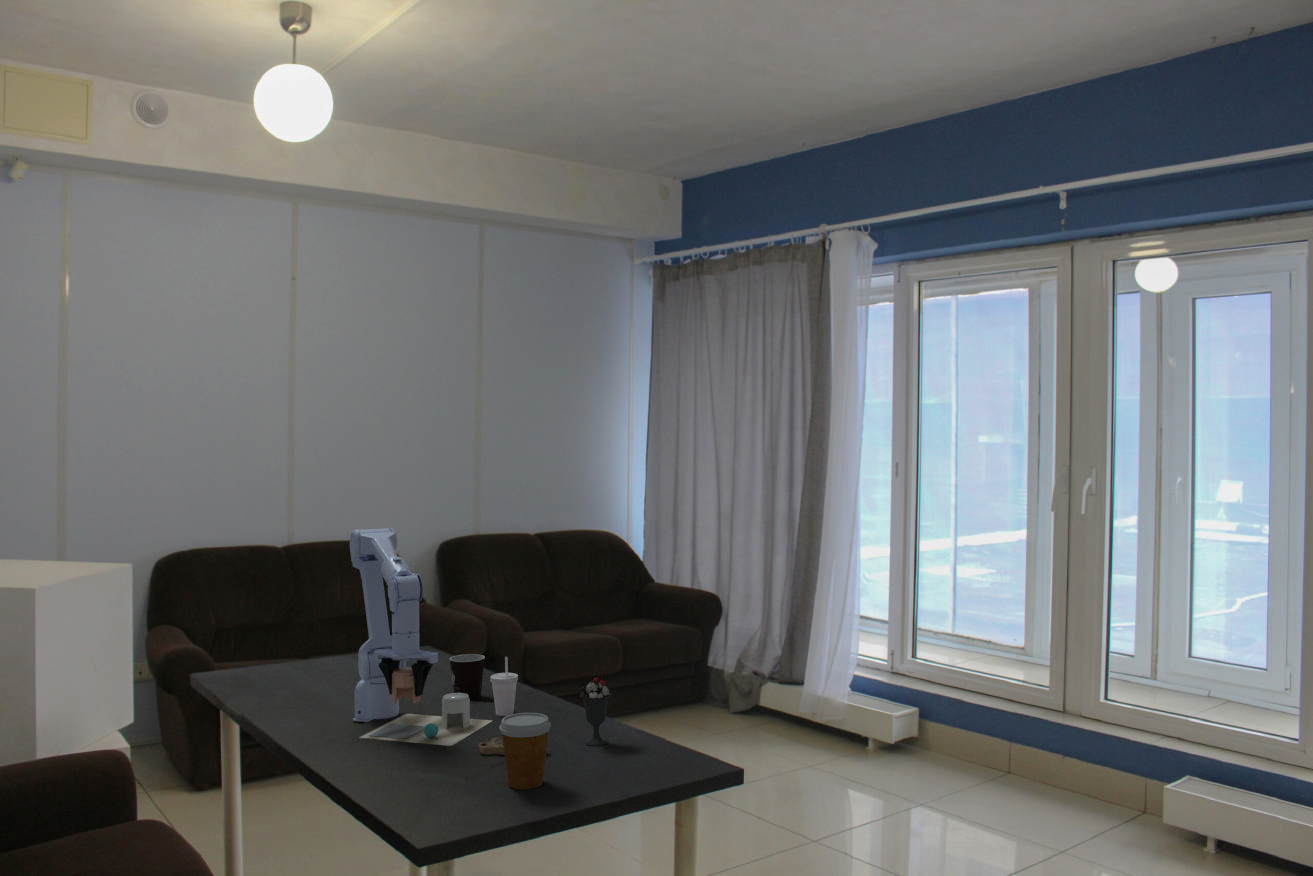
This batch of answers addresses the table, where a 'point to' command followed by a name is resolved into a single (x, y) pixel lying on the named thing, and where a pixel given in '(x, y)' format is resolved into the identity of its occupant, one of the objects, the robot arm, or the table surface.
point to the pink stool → (403, 685)
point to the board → (413, 730)
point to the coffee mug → (467, 674)
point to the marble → (431, 730)
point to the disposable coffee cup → (525, 748)
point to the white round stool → (456, 709)
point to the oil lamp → (492, 747)
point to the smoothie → (504, 691)
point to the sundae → (596, 708)
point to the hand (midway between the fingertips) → (406, 694)
